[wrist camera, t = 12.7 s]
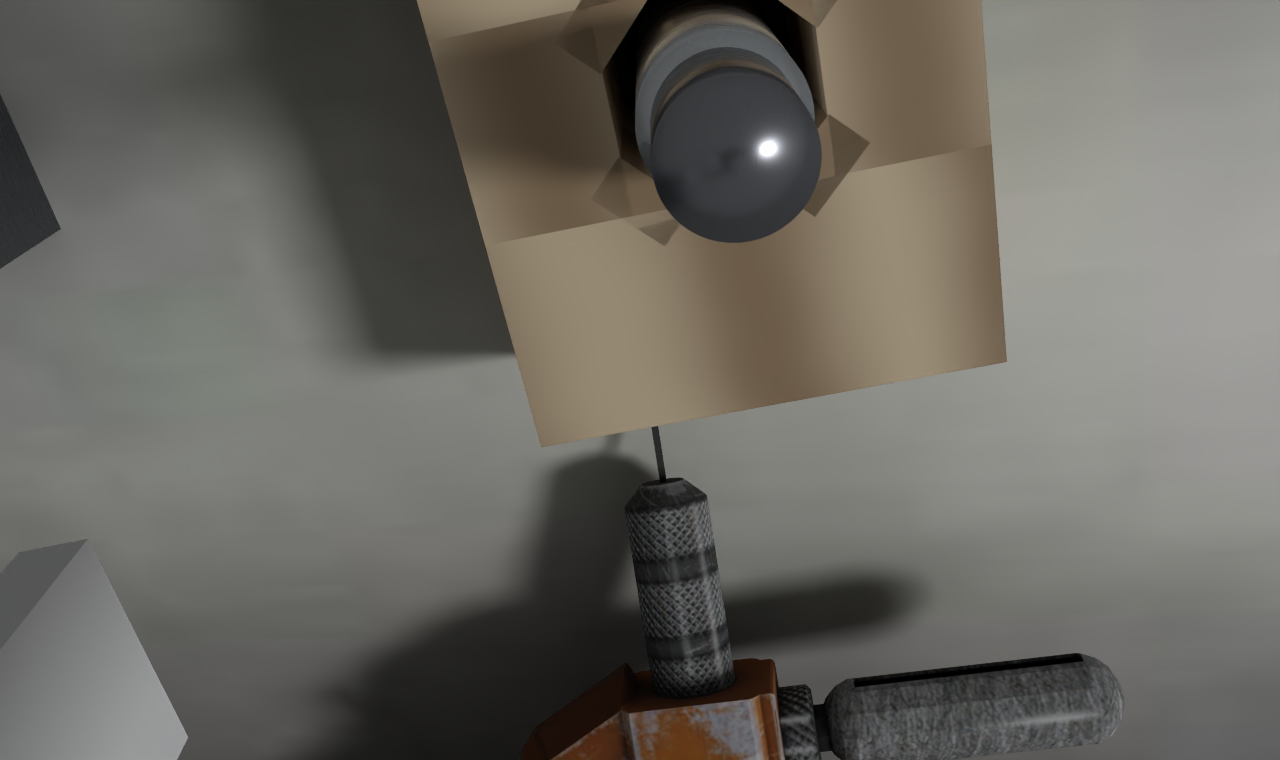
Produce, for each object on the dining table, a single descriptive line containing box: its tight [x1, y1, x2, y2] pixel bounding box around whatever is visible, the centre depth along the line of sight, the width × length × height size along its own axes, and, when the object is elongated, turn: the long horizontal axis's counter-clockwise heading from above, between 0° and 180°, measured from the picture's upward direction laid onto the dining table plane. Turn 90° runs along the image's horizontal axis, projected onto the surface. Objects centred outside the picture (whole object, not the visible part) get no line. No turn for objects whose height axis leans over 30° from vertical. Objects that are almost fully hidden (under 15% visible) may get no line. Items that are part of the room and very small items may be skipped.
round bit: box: [635, 0, 822, 243], centre depth 25 cm, size 4×4×12 cm
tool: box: [520, 426, 1124, 760], centre depth 35 cm, size 4×27×30 cm
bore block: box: [417, 0, 1007, 447], centre depth 28 cm, size 12×16×6 cm
